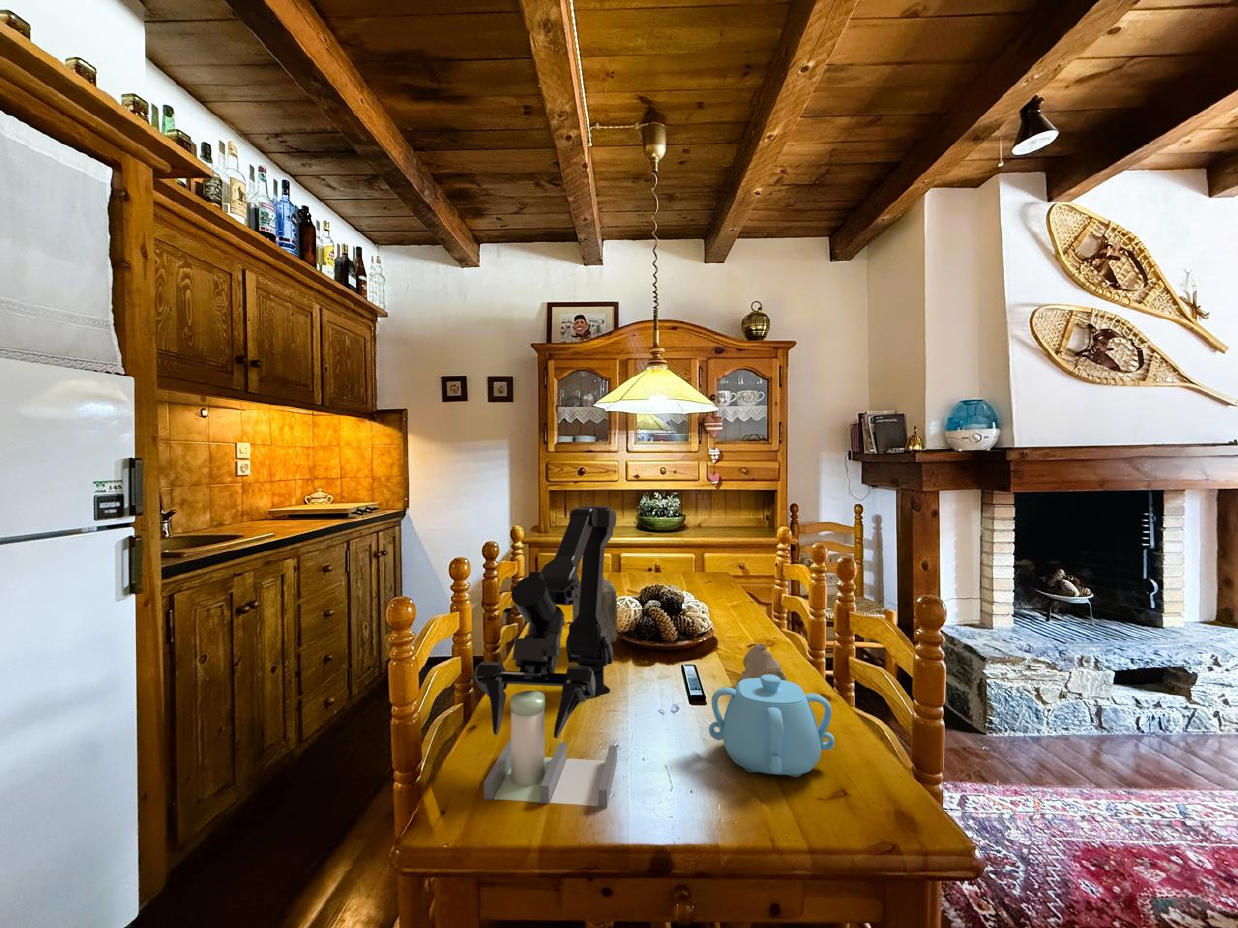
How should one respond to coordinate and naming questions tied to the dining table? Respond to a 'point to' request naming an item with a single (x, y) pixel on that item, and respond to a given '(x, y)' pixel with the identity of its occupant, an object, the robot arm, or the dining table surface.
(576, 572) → the robot arm
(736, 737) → the decorative pot
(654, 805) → the dining table surface
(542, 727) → the white capped canister
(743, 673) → the ceramic model
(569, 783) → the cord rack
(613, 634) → the tabletop clock
